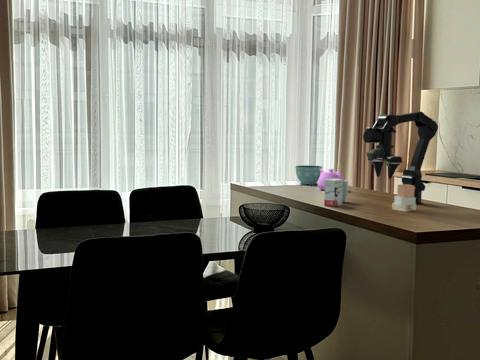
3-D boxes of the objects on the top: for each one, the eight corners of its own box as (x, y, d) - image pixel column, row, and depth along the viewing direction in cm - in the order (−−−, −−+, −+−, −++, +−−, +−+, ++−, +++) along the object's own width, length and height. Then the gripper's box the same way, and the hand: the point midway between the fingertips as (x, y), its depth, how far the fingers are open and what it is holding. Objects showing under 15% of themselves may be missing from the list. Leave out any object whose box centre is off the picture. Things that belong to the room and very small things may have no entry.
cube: (397, 196, 241) (397, 184, 241) (407, 195, 243) (407, 184, 242) (403, 197, 236) (404, 185, 236) (414, 197, 238) (414, 185, 237)
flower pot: (293, 185, 332) (294, 166, 330) (295, 182, 347) (296, 164, 346) (321, 186, 329) (321, 167, 328) (322, 183, 345) (322, 165, 344)
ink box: (333, 207, 246) (334, 180, 245) (323, 205, 249) (324, 179, 248) (342, 204, 253) (343, 178, 251) (332, 203, 256) (333, 178, 254)
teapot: (350, 191, 304) (351, 169, 302) (330, 192, 298) (330, 170, 296) (328, 187, 321) (329, 167, 320) (309, 188, 315) (309, 167, 314)
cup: (349, 201, 264) (349, 180, 263) (344, 203, 257) (345, 181, 256) (333, 200, 267) (333, 179, 266) (328, 202, 260) (329, 181, 259)
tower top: (407, 202, 244) (408, 195, 243) (415, 204, 237) (415, 197, 237) (394, 202, 242) (394, 195, 242) (401, 204, 236) (401, 197, 236)
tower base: (403, 208, 245) (403, 202, 245) (415, 211, 239) (416, 204, 239) (391, 210, 241) (392, 203, 241) (404, 212, 235) (404, 205, 235)
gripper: (358, 142, 256) (357, 176, 257) (381, 143, 238) (380, 180, 240) (379, 142, 259) (378, 175, 261) (403, 143, 242) (402, 179, 243)
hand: (383, 177), depth 251 cm, fingers open, 9 cm apart
